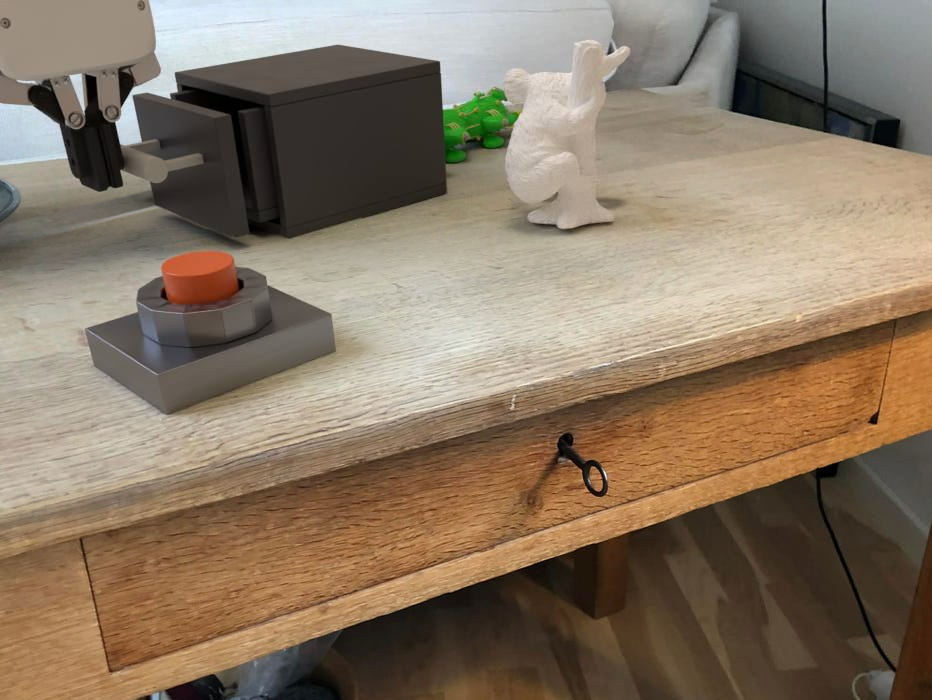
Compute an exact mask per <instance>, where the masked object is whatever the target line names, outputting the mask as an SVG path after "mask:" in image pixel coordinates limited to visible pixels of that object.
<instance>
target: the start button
mask: <svg viewBox="0 0 932 700" xmlns="http://www.w3.org/2000/svg"><path fill="white" fill-rule="evenodd" d="M235 267H236V263H235V258H234V257H233V255H231V254H230V253H228V252H223V251H220V250H219V251H216V250H200V251H199V250H198V251H190V252H186V253H182V254H181V253H180V254H178V255H175V256H172V257H170V258H168V259H166V260H165V261H164V262H163V263H162V264H161V267H160V270H161V276H163V280H164V285H165V290H166V295H167V299H168V301H169V302H171V303H182V304H198V303H207V302H215V301H218V300H222V299H225V298H228V297H231V296H233V295H235V294H236V293H237V292H239V286H238V280H237V274H236V268H235Z"/></svg>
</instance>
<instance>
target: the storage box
mask: <svg viewBox="0 0 932 700" xmlns="http://www.w3.org/2000/svg"><path fill="white" fill-rule="evenodd" d="M174 79H175V83H176V89H177V92H180V91H186V90H191V89H201V90H205V91H209V92H213V93H217V94H221V95H225V96H229V97H233V98H237V99H242V100H246V101H250V102H254V103H258V104H262V105H266V106H264V107H265V114H266V122H267V129H268V136H269V143H270V150H271V157H272V164H273V172H274V179H275V186H276V193H277V200H278V207H279V214H280V217H279V218H275V219H272V220H268V221H265V222H261V223H260V222H258V221H255V220H252V219H250V218H247V220H248V225H249V224H250V225H252V226H255V227H258V228H260V229H262V230H265V231H268V232H270V233H273V234H275V235H277V236H280V237H283V238H286V239H293V238H296V237H300V236H303V235H307V234H310V233H314V232H317V231H320V230H321V231H322V230H324V229H327V228H332V227H334V226H338V225H340V224H341V225H342V224H344V223H347V222H352V221H355V220H358V219H361V218H362V219H363V218H367V217H370V216H373V215H376V214H381V213H383V212H387V211H391V210H394V209H397V208H400V207H404V206H408V205H411V204H415V203H417V202H418V203H419V202H421V201H424V200H428V199H432V198H434V197H439V196H442V195H445V194H448V183H447V165H446V164H447V162H446V161H445V142H444V122H443V110H444V106H443V84H442V72H441V61H440V60H436V59H429V58H423V57H417V56H410V55H405V54H398V53H392V52H387V51H382V50H381V51H380V50H373V49H368V48H361V47H357V46H350V45H344V44H333V45H327V46H326V45H325V46H321V47H315V48H309V49H303V50H298V51H297V50H296V51H292V52H291V51H290V52H285V53H280V54H274V55H268V56H263V57H257V58H249V59H245V60H238V61H232V62H227V63H226V62H225V63H222V64H215V65H209V66H204V67H197V68H192V69H186V70H180V71H175V72H174Z"/></svg>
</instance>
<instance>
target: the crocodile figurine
mask: <svg viewBox="0 0 932 700" xmlns="http://www.w3.org/2000/svg"><path fill="white" fill-rule="evenodd" d="M472 95H473V96H474V97H473V98H472V99H471V100H470V101H469V100H468V101H467V102H465V103H461V104H459V105H457V104H456V103H454V104H453V105H452V108H446V109H443V122H444V142H445V161H446V163H459V162H462V161H464V160H465V159H466V156H467V152H465V151H463V150H460V149H458V148H456V147H457V146H458V145H461V146H463V147H464V146H466V142H467V141H474V140H477V141H480V140H481V138H482V139H483V141H482V146H483V147H484V148H488V149H495V148H499V147H501V146H503V144H504V142H505V140H504V138H503V137H501V136H499V135H498V136H497V135H496V134H494V133H496V132H497V133H502V130H503V129H504V130H509V129H513V127H514V123H515V122H516V121H517V119H518V117H519V115H520V113H522V112H523V110H518V109H517V110H512V112H510V114H508V112H509V109H507V108H506V106H505V104H504V103H503V101H504V102H509V101H508V100H507V98H506V97H505V93H504V89H502V88H499V87H496V86H493V87H491V89H488V92H486V93H484V92H482V93H481V91H476V92H474V93H473V94H472Z"/></svg>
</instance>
